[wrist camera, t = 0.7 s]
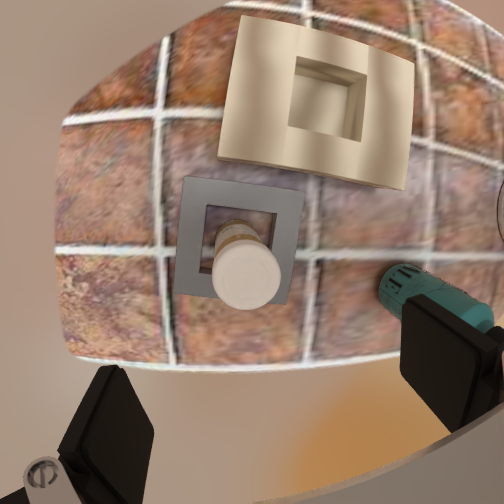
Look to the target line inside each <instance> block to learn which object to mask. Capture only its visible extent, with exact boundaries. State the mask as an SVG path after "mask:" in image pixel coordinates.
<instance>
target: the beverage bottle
mask: <svg viewBox="0 0 504 504" xmlns="http://www.w3.org/2000/svg"><path fill="white" fill-rule="evenodd" d="M410 264H411V263H410ZM410 264H404V263H403V264H398V265H395V266H393V267H392V268H390V269H389V270H388V271H387V272H386V273H385V275H384V276H383V278H382V280H381V282H380V286H379V298H380V302H381V304H382V305H383V306H384V307H385V308H386V309H387V310H388V311H389V312H391V313H392V314H393V315H394V316H395V317H397V318H398V319H399V320H400V321H402V305H403V304H404V303H405V301H406V299H407V298H409V297H412V296H415V295H418V294H424V295H425V296H427V297H429V298H430V299H432V300H433V301H435V302H437V303H438V304H440V305H441V306H443V307H444V308H446V309H447V310H449V311H451V312H452V313H454V314H455V315H457V316H458V317H460V318H461V319H463V320H464V321H466V322H467V323H469V324H470V325H472V326H473V327H475V328H476V329H478V330H479V331H481V332H482V333H484V334H485V335H487V336H488V337H490V338H491V339H492V340H494V341H495V342H497V343H498V344H500V346H499V351H498V352H500V353H501V354H502V353H503V351H504V329H503V328H502V327H500V326H495V327H494V315H493V312H492V310H491V308H490V307H489V306H488V305H487V304H485V303H481V302H479V301H478V300H477V299H474V298H472V297H471V296H469V295H468V294H467V293H465V292H462V291H463V290H462V289H461V290H462V291H460V290H459V289H460V288H459V289H456V288H457V287H456V286H455V287H456V288H455V287H453V286H451V285H452V284H451V285H450V283H449V282H448V283H449V284H447V282H443V280H442V279H441V278H440V279H438V278H439V277H437V278H436V277H434V276H432V275H433V274H432V275H430V274H431V273H430V274H428V273H427V271H426V272H424V271H422V270H420V268H419V267H418V268H419V269H418V268H416V267H417V266H416V267H414V265H413V264H412V265H413V266H412V265H410ZM441 280H442V281H441ZM391 313H390V314H391ZM397 318H396V319H397Z"/></svg>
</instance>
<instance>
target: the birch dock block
mask: <svg viewBox="0 0 504 504" xmlns="http://www.w3.org/2000/svg"><path fill="white" fill-rule="evenodd" d="M413 98H414V63H412V62H409V61H407V60H405V59H402V58H400V57H398V56H395V55H393V54H390V53H388V52H385V51H382V50H380V49H377V48H374V47H371V46H369V45H366V44H363V43H360V42H357V41H354V40H351V39H348V38H344V37H341V36H338V35H334V34H331V33H327V32H323V31H320V30H316V29H312V28H308V27H303V26H299V25H295V24H290V23H285V22H280V21H275V20H269V19H263V18H257V17H251V16H243V15H241V20H240V25H239V30H238V36H237V41H236V46H235V51H234V57H233V62H232V68H231V73H230V79H229V85H228V91H227V97H226V103H225V109H224V115H223V122H222V128H221V135H220V141H219V148H218V155H217V157H218V160H220V161H228V162H236V163H243V164H251V165H258V166H264V167H271V168H277V169H283V170H289V171H295V172H301V173H307V174H312V175H318V176H323V177H328V178H333V179H338V180H343V181H348V182H353V183H358V184H362V185H367V186H371V187H376V188H384V189H393V190H402V191H405V184H406V177H407V169H408V160H409V151H410V141H411V130H412V116H413Z"/></svg>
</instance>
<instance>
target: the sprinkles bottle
mask: <svg viewBox="0 0 504 504" xmlns="http://www.w3.org/2000/svg"><path fill="white" fill-rule="evenodd" d="M280 281H281V271H280V267H279V264H278V262H277V260H276V258H275V256H274V255H273V254H272V252H271V251H270V250H269V249H268V248H267V247H266V246H265V245H264V244H263V242H262V241H261V239H260V238H259V236H258V234H257V233H256V231H255V229H254V228H253V226H252V225H251V224H249V223H248V222H246V221H243V220H238V219H236V220H230V221H228V222H226V223H224V224H223V225H222V226H221V227H220V228H219V230H218V231H217V233H216V237H215V251H214V263H213V267H212V282H213V286H214V289H215V292H216V293H217V295H218V296H219V298H220V299H221V300H222V301H223V302H224V303H226V304H227V305H229V306H231V307H233V308H236V309H241V310H251V309H256V308H259V307H261V306H263V305H264V304H266V303H267V302H269V301H270V300H271V299H272V298H273V297H274V295H275V294H276V292H277V290H278V288H279V285H280Z"/></svg>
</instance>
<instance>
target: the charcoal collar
mask: <svg viewBox="0 0 504 504" xmlns="http://www.w3.org/2000/svg"><path fill="white" fill-rule="evenodd" d="M304 198H305V192H302V191H296V190H289V189H283V188H276V187H270V186H263V185H256V184H248V183H241V182H233V181H225V180H217V179H208V178H200V177H190V176H184V183H183V191H182V199H181V208H180V218H179V228H178V238H177V249H176V261H175V275H174V289H173V293H175V294H184V295H192V296H201V297H210V298H219V296H218V295H217V293H216V292H215V289H214V286H213V282H212V269H207V268H200V265H201V255H202V245H203V236H204V227H205V219H206V211H207V204H209V205H217V206H226V207H234V208H242V209H250V210H257V211H265V212H272V213H274V215H273V221H272V228H271V234H270V241H269V248H268V249H269V250H270V251H271V252H272V254H273V255H274V256H275V258H276V260H277V262H278V264H279V267H280V271H281V281H280V285H279V288H278V290H277V292H276V294H275V295H274V297H273V298H272V299H271V300H270V301H269V302H267V303H272V304H284V305H286V303H287V297H288V292H289V287H290V281H291V276H292V270H293V264H294V259H295V253H296V247H297V241H298V235H299V229H300V223H301V217H302V210H303V204H304Z"/></svg>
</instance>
